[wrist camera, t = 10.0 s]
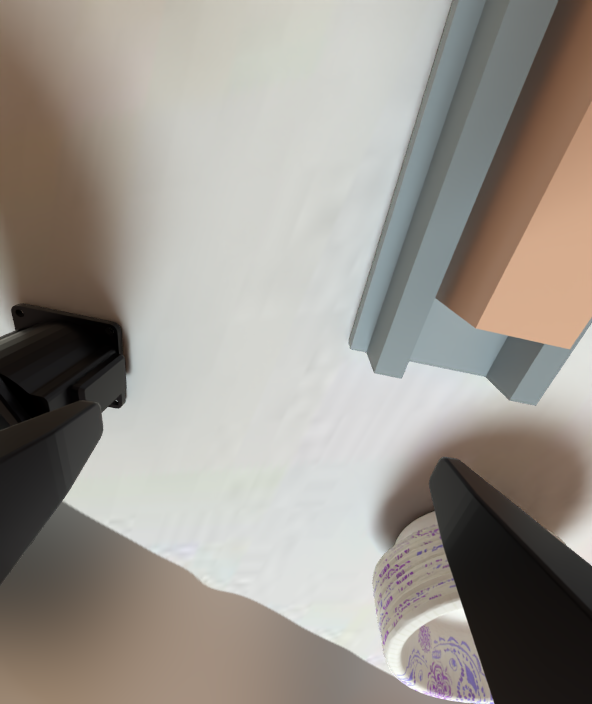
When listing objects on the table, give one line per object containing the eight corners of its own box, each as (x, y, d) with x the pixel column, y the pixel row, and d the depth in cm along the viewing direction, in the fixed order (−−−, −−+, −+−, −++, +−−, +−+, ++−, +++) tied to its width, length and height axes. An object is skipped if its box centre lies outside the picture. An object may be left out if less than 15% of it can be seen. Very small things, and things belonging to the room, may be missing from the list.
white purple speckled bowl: (562, 471, 23) (676, 592, 16) (529, 585, 29) (599, 708, 22) (359, 486, 25) (378, 601, 17) (370, 591, 31) (387, 706, 24)
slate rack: (348, 342, 19) (355, 369, 16) (578, -412, 9) (731, -765, 5) (514, 376, 20) (553, 409, 16) (922, -299, 9) (1247, -567, 6)
